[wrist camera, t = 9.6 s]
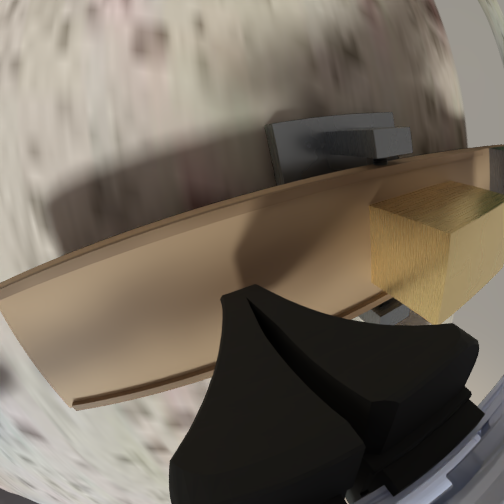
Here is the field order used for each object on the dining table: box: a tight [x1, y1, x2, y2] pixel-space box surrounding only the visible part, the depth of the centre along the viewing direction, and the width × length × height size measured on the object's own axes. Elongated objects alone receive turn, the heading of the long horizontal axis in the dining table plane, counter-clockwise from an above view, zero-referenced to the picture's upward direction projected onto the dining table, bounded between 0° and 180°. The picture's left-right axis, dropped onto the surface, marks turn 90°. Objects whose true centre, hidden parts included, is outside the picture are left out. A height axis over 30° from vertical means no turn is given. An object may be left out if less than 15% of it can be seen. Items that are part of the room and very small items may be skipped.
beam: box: [0, 144, 504, 411], centre depth 11 cm, size 8×36×6 cm, turn 102°
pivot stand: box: [265, 112, 413, 325], centre depth 14 cm, size 12×8×5 cm, turn 12°
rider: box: [369, 180, 504, 325], centre depth 11 cm, size 4×7×4 cm, turn 102°
